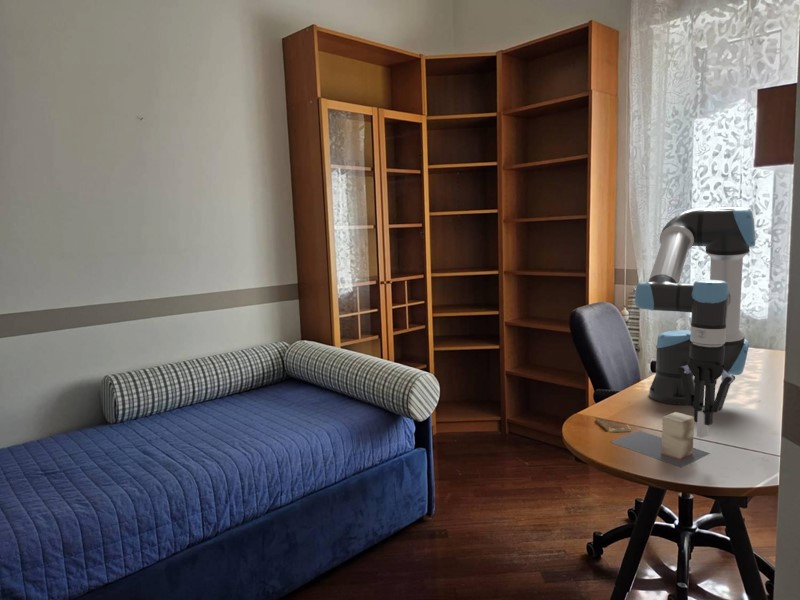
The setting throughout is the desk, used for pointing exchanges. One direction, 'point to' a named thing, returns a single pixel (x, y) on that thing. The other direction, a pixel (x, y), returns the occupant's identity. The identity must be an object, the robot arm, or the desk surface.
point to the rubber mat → (655, 448)
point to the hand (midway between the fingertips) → (702, 435)
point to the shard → (613, 425)
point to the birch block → (677, 435)
